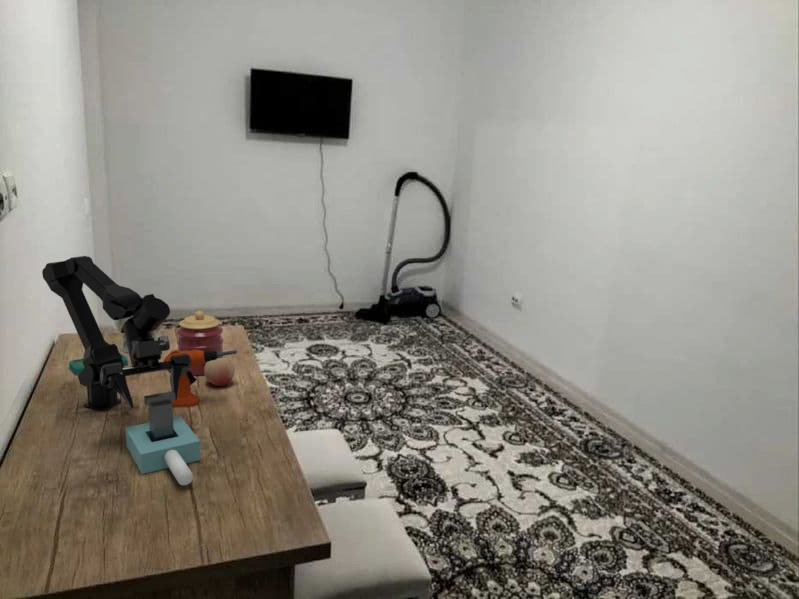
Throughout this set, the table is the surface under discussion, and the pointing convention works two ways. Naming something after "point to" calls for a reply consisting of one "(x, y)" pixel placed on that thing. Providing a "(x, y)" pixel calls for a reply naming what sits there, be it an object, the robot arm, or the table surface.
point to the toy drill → (188, 379)
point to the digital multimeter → (78, 365)
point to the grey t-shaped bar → (160, 415)
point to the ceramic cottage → (155, 333)
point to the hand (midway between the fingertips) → (154, 403)
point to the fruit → (219, 371)
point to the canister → (200, 336)
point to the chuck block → (164, 450)
